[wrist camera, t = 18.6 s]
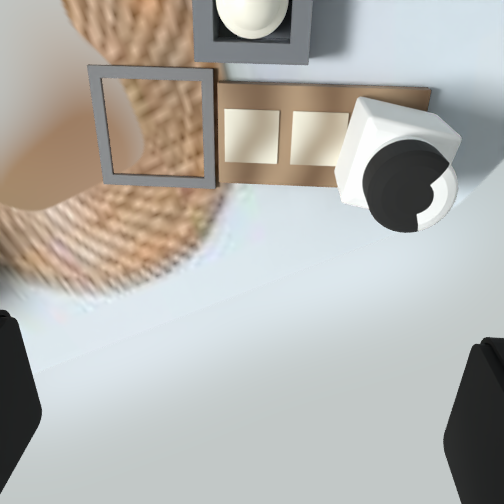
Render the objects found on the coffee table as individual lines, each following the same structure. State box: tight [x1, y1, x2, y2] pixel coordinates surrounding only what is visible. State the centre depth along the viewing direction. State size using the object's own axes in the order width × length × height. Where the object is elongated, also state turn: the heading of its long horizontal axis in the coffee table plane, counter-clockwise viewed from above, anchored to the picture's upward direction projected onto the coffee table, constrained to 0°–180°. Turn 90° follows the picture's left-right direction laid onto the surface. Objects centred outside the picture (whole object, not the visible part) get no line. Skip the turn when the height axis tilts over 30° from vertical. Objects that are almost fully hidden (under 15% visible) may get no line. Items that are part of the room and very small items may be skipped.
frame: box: [87, 65, 216, 189], centre depth 44 cm, size 11×11×1 cm
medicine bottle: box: [334, 97, 462, 233], centre depth 37 cm, size 7×7×12 cm
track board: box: [217, 81, 431, 187], centre depth 43 cm, size 18×9×1 cm, turn 89°
